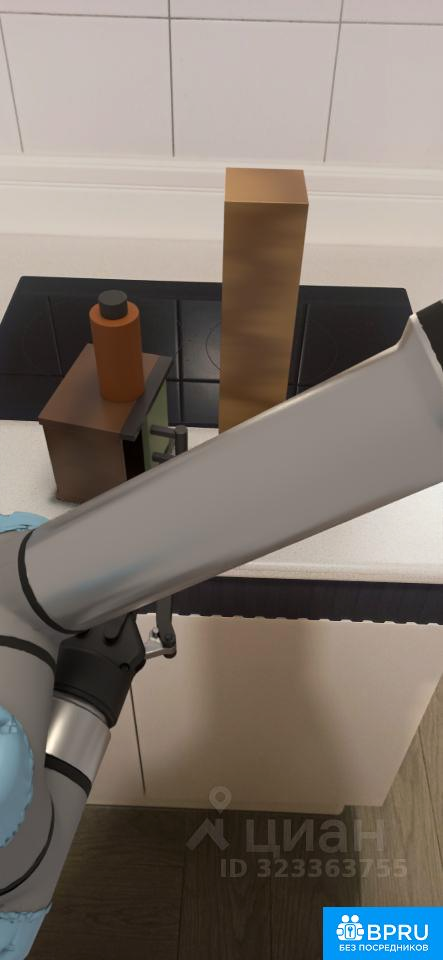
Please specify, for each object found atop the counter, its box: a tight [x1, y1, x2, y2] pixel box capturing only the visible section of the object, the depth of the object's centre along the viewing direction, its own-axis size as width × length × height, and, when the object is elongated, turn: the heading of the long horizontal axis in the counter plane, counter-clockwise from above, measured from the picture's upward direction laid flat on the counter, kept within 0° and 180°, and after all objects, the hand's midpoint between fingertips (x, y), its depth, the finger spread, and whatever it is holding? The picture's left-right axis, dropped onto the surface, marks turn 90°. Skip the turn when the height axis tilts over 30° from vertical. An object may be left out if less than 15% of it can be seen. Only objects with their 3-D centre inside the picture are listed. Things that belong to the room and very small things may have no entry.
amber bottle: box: [88, 289, 145, 403], centre depth 65 cm, size 5×5×11 cm
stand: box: [217, 167, 310, 435], centre depth 62 cm, size 6×6×35 cm
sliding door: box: [141, 379, 189, 472], centre depth 73 cm, size 5×6×10 cm
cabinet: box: [37, 343, 175, 505], centre depth 73 cm, size 10×13×12 cm
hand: (162, 492), depth 66 cm, fingers closed
